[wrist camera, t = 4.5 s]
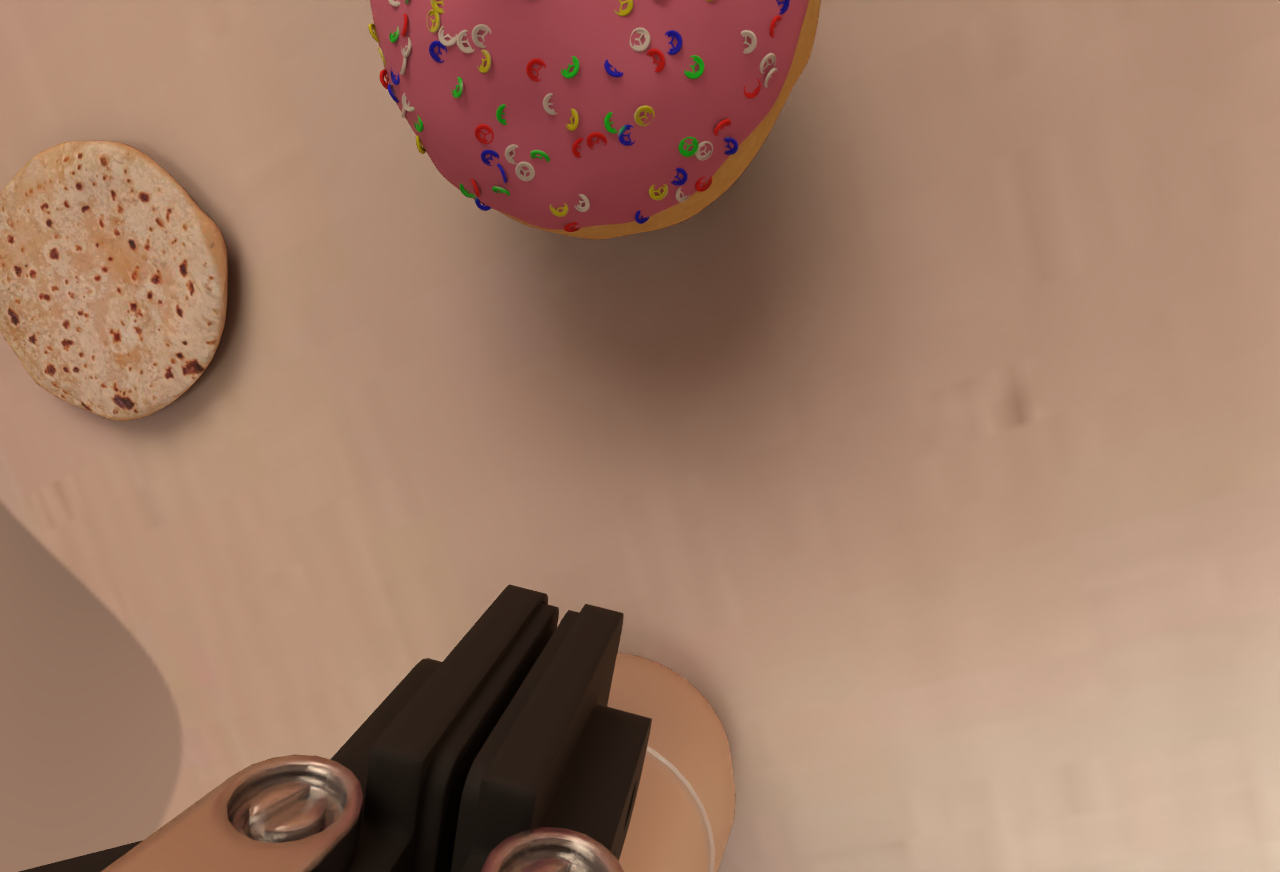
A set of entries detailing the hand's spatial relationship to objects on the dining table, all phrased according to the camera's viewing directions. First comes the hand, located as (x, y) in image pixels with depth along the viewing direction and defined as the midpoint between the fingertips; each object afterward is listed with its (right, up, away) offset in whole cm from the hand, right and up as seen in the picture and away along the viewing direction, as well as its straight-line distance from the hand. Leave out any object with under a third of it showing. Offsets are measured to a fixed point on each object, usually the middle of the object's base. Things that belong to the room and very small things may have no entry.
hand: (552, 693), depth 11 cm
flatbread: (-14, +8, +12) cm, 20 cm away
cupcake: (+1, +13, +8) cm, 15 cm away
